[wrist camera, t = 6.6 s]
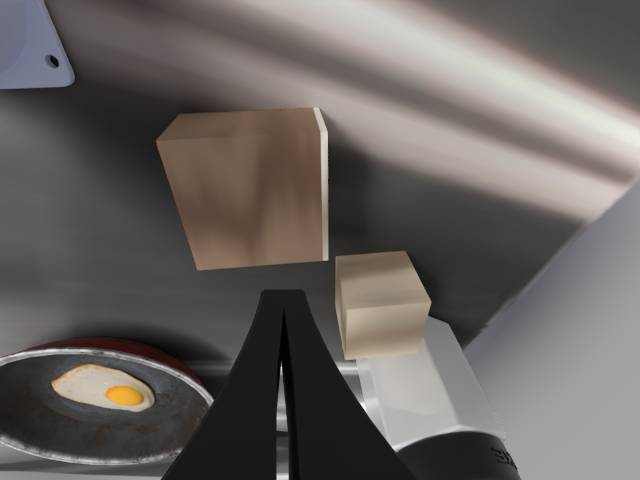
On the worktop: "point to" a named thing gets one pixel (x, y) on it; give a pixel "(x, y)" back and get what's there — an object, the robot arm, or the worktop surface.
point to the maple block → (379, 305)
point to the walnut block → (250, 185)
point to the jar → (436, 411)
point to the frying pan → (100, 402)
